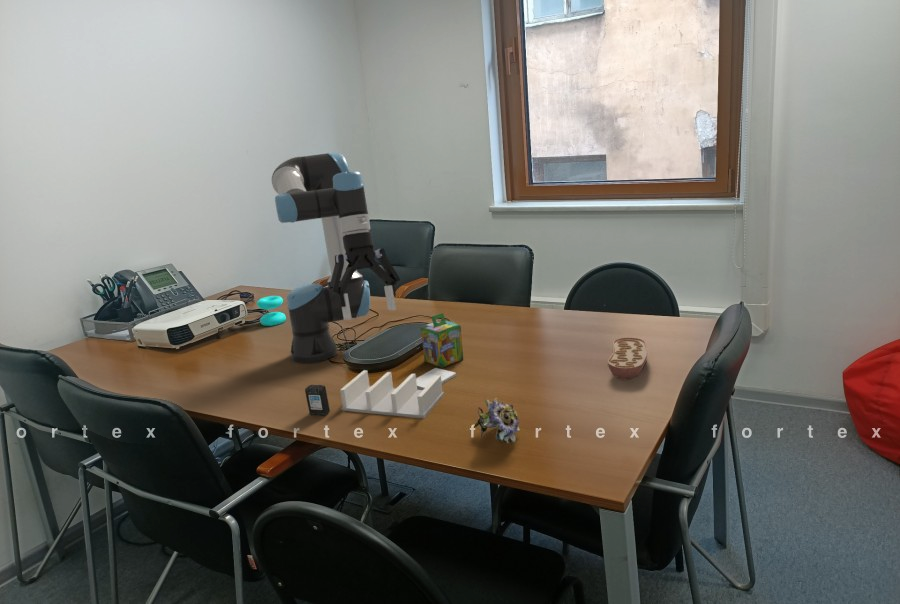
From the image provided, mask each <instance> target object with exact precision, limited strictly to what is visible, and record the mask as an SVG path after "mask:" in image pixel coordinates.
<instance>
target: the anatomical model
mask: <svg viewBox="0 0 900 604" xmlns="http://www.w3.org/2000/svg"><path fill="white" fill-rule="evenodd" d="M612 346H613V352H612V354H611V355H610V357H609V358H608V360H607V366H608V369H609V370H610V372H611V374H612V375H613V376H614V377H616V378H617V379H620V380H625V381H626V380H628V381H629V380H632V379H634V378H636V377H637V376H638V375H639V374H640V373H641V372H642V370H643V367H644V365H646V361H647V358H648V347H647V343H646V341H645V340H644V339H641V338H638V337H621V338H617V339H615V340H613V342H612Z"/></svg>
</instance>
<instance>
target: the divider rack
mask: <svg viewBox="0 0 900 604" xmlns="http://www.w3.org/2000/svg"><path fill="white" fill-rule="evenodd" d="M368 372H369V371H368V370H365V369H364V370H362V371H361V372H360V373H359V374H357V375H356V376H355V377H353V378H352V380H350V381H349V382H348V383H346V384H345V385H344V386H343V387H341V388H340V389H339V390H340V397H341V405H342V407H341V408H340V410H341V411H345V412H354V413H355V412H356V413H366V414H374V415H375V414H377V415H384V416H385V415H386V416H396V417H397V416H398V417H403V418H404V417H407V418H417V419H425V418H426V417H427V416H428V415H429V413H430V412H431V411H432V410H433V408H434V407H435V406H436V405H437V404H438V403H439V401H440V400H441V399H442V398H443V397H444V396H445V391H443V384H442V382H441V376H438V375H437V376H436V377H435V378H434V379H433V380H432V381H431V382H430V383H429V384H428V385H427V386H426V387H425V389H424V390H419V389H417V382H416V378H417V376H416V373H411V374H409V375H408V376H407V377H406V378H405V379H404V381H402V382H401V383H400V384H399V385H398V386H397V387H394V384H393V377H392V371H387V372H385V373H384V374H383V376H381V377H380V378H379V379H378V380H377V381H375V383H373V385H370V379H369V378H370V377H369V373H368Z"/></svg>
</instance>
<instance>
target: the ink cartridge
mask: <svg viewBox="0 0 900 604" xmlns="http://www.w3.org/2000/svg"><path fill="white" fill-rule="evenodd" d="M304 389H305V390H304V392H305V398H306V402H307V407H308V411H309V413H308V414H309V415H310V416H314V417H316V416H317V417H326V416H327V415H328V414H329V413H330V412H331V409H330V406H329V405H330V404H329V399H328V394H327V388H326V385H322V384H310V385H308V386H307V387H305V388H304Z"/></svg>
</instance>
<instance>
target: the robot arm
mask: <svg viewBox="0 0 900 604" xmlns="http://www.w3.org/2000/svg"><path fill="white" fill-rule="evenodd" d="M363 181H364V180H363V177H362V174H361V172H359V171H354V170H353V171H352V170H351V171H350V168H349V165H348V162H347V160H346V158H345V156H344V155H343V154H342V153H339V152H334V153H333V152H332V153H329V152H328V153H321V154H313V155H305V156H294V157H291V158H289V159H287V160H285V161H283V162H282V163H280V164H279V165H278V166H277V167H276V168H275V169H274V171H273V172H272V176H271V185H272V188H273V189H274V191H275V193H277V195H276V196H275V198H274V201H275V202H274V203H275V208H276V215H277V219H278V221H279V222H280V223H281V224H284V223H285V224H286V223H295V222H302V221H303V222H304V221H309V220H317V219H321V223H322V230H323V235H324V241H325V246H326V253H327V259H328V265H329V271H330V277H329V278H328V279H327V286H325V287H323V285H322V284H321V283H319V282H318V283H317V282H316V283H308V284H305V285H304V284H303V285H301V286H299V287H296V288H294V289H292V290H291V291H290V292H289V293H288V294H287V296H286V301H287V302H286V303H287V310H288V315H289V320H290V326H291V332H292V341H291V347H290V353H289V354H290V359H291V361H292V362H294V363H297V364H313V363H320V362H322V361H323V360H324V361H326V360H328V358H329V359H331V358H332V356H333V355H334V356H335V355H337V353H338V347H337V344H336V342H335V340H334V339H333V338H334V337H333V336H332V334H331V332H330V330H329V323H334V322H339V321H346V320H348V321H349V320H352V319H357V318H360V317H364V316H366V315H368V314H369V312H370V309H371V292H370V291H371V290H370V284H369V281H368V280H365V279H364V278H363V275H362V274H361V273H360V272H358V270H364V269H370V270H371V271H372V272H373V273H374V274H375V275H376V276H377V277H378V278H379V279H380V280H381V281H382V282H383V283H384V284H385V286H383V287H384V294H385V300H386V306H387V311H396V310H397V307H396V306H397V305H396V301H395V297H396V296H397V293H396V288H395V285H396V284H397V282H400V280H401V279H400V276H399V275H398V273H397V271H396V269H395V267H394V266H393V265H392V263H391V262H390V260H389V259H388V257H387V254H386V251H385V249H384V248H377V249H376V250H375V249H374V240H373V233H372V232H371V231H370V230H371V223H370V217H369V212H368V205H367V204H368V203H367V200H366V194H365V191H366V190H365V183H364V182H363ZM375 258H377V260H378V261H379V262H377V260H375ZM380 265H381V266H382V267H381V266H380ZM334 356H333V357H334ZM330 357H331V358H330Z"/></svg>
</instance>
